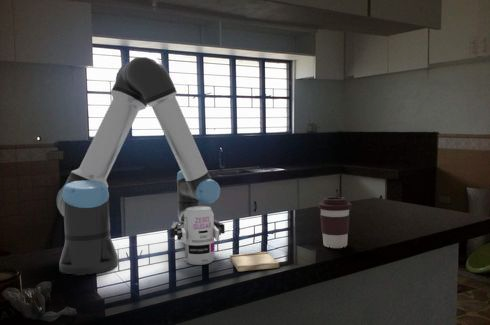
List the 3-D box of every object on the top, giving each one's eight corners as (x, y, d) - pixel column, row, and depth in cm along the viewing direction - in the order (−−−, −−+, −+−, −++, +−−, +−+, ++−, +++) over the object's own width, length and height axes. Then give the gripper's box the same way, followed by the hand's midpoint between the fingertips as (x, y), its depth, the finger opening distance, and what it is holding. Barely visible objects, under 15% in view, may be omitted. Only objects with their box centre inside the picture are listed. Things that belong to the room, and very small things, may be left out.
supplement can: (200, 255, 123) (198, 204, 122) (220, 260, 117) (219, 207, 117) (179, 262, 116) (177, 208, 116) (200, 267, 111) (198, 211, 110)
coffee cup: (336, 240, 137) (335, 195, 137) (358, 246, 129) (357, 198, 128) (312, 244, 132) (311, 198, 132) (334, 251, 124) (333, 201, 123)
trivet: (238, 271, 108) (238, 266, 108) (230, 259, 118) (230, 255, 118) (279, 267, 110) (279, 262, 110) (267, 256, 121) (267, 251, 121)
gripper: (224, 230, 137) (239, 247, 114) (159, 234, 132) (162, 253, 110) (224, 207, 136) (239, 220, 114) (158, 211, 131) (161, 225, 109)
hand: (201, 236), depth 112 cm, fingers closed on supplement can, 8 cm apart
